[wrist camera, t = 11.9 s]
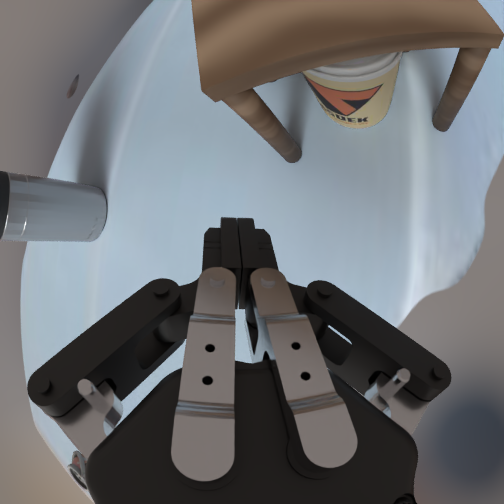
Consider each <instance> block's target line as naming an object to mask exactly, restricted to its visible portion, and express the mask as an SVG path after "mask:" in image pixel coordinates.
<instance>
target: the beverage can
mask: <svg viewBox="0 0 504 504" xmlns="http://www.w3.org/2000/svg"><path fill="white" fill-rule="evenodd" d="M86 462H87V459H86V458H85V457H84V456H83V454H81V453H80V452H79V451H74V452H73V455H72V464H70V465H68V470H69V472H70V474H71V476H72V477H73V479H74V481H75V482H76V483H78V485H79V486H80V487H82V488H83V489H84V490H86V491H88V492H89V490H88V488H87V485H86V481H85V466H86Z"/></svg>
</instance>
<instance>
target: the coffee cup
mask: <svg viewBox="0 0 504 504" xmlns="http://www.w3.org/2000/svg"><path fill="white" fill-rule="evenodd" d="M402 53H403V51H402V52H394V53H387V54H380V55H374V56H368V57H363V58H358V59H353V60H348V61H343V62H339V63H334V64H330V65H326V66H322V67H318V68H314V69H310V70H307V71H303V72H302V74H303V75H304V77H305V79H306V81H307V82H308V84H309V86H310V87H311V89H312V91H313V92H314V94H315V96H316V98H317V99H318V101H319V103H320V105H321V106H322V108H323V110H324V111H325V113H326V114H327V115H328V116H329V117H330V118H331V119H332V120H333V121H335V122H336V123H338V124H340V125H342V126H344V127H348V128H353V129H364V128H368V127H372V126H374V125H376V124H377V123H379V122H380V121H381V120H382V119H383V118H384V117H385V116H386V114H387V112H388V109H389V106H390V103H391V99H392V95H393V91H394V87H395V82H396V78H397V73H398V68H399V62H400V58H401V56H402Z"/></svg>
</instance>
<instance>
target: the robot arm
mask: <svg viewBox="0 0 504 504" xmlns="http://www.w3.org/2000/svg"><path fill="white" fill-rule="evenodd" d="M106 213H107V206H106V199H105V196H104V194H103V192H102V190H101V189H100V188H98V187H94V186H89V185H85V184H80V183H74V182H68V181H63V180H57V179H51V178H43V177H37V176H30V175H23V174H17V173H10V172H3V171H0V241H75V242H91V241H94V240H95V239H97V238H98V236H99V235H100V233H101V232H102V230H103V227H104V224H105V220H106ZM238 304H239V309H245V314H246V316H245V329H246V334H247V339H248V344H249V349H250V354H251V359H252V363H245V362H240V361H235V309H237V308H238ZM329 325H330V326H331V327H333V328H334V329H336V330H337V331H338V332H340V333H341V334H342V335H344V336H345V337H346V338H348V339H349V340H350V341H351V343H352V344H350V343H349V342H347V341H346V340H345V339H343V338H342V337H341V336H339V335H338V334H337V333H335V332H334V331H333V330H331V329H330V328H329V327H328V326H329ZM185 339H187V340H186V347H185V354H184V361H183V368H180V369H178V370H176V371H174V372H172V373H170V374H169V375H167V376H166V377H165V378H164V379H162V380H161V381H160V382H159V383H158V385H157V386H156V387H155V388H154V389H153V390H152V391H151V392H150V393H149V394H148V395H147V396H146V397H145V398H144V399H143V400H142V401H141V402H140V403H139V404H138V405H137V406H136V407H135V408H134V409H133V411H132V412H131V413H130V414H129V415H128V416H127V417H126V418H125V419H124V420H123V421H122V422H121V423H120V424H119V425H118V426H117V427H116V428H115V426H116V425H117V423H118V422H119V421H120V419H121V417H122V414H123V406H122V403H121V401H122V400H123V399H125V398H126V397H127V396H128V395H129V394H130V393H131V392H132V391H133V390H134V389H135V388H136V387H137V386H139V385H140V384H141V383H142V382H143V381H144V380H145V379H146V378H147V377H148V376H149V375H150V374H151V373H152V372H153V371H155V370H156V369H157V368H158V367H159V366H160V365H161V364H162V363H163V362H164V361H165V360H166V359H167V358H168V357H169V356H170V355H171V354H172V353H174V352H175V351H176V350H177V349H178V348H179V347H180V346H181V345H182V344H183V342H184V341H185ZM327 368H328V369H327ZM329 369H330V370H329ZM342 379H343V380H342ZM450 382H451V373H450V370H449V368H448V367H447V365H446V364H445V363H444V362H443V361H441V360H440V359H439V358H437V357H436V356H435V355H433V354H432V353H430V352H429V351H428V350H426V349H425V348H423V347H422V346H421V345H419V344H418V343H416V342H415V341H414V340H412V339H411V338H409V337H408V336H407V335H405V334H404V333H402V332H401V331H399V330H398V329H397V328H395V327H394V326H392V325H391V324H390V323H388V322H387V321H385V320H384V319H382V318H381V317H380V316H378V315H377V314H375V313H374V312H372V311H371V310H370V309H368V308H367V307H365V306H364V305H362V304H361V303H359V302H358V301H357V300H355V299H354V298H352V297H351V296H349V295H348V294H346V293H345V292H344V291H342V290H341V289H339V288H338V287H336V286H335V285H333V284H332V283H330V282H327V281H322V280H317V281H313V282H311V283H310V284H309V285H308V286H307V288H306V287H302V286H298V285H294V284H291V283H289V282H287V281H286V278H285V276H284V275H283V274H282V273H281V272H279V270H278V266H277V262H276V258H275V254H274V250H273V246H272V242H271V238H270V235H269V234H268V233H267V232H266V231H265V230H264V229H255V225H254V220H253V218H226V217H221V224H220V228H209V229H208V230H207V231H206V233H205V234H204V247H203V264H202V273H201V274H200V277H199V278H198V279H197V280H196V281H194V282H192V283H190V284H187V285H182V286H178V284H177V283H176V282H174V281H173V280H170V279H165V278H161V279H156V280H153V281H151V282H149V283H148V284H146V285H145V286H144V287H142V288H141V289H140V290H138V291H137V292H136V293H134V294H133V295H132V296H130V297H129V298H128V299H126V300H125V301H124V302H122V303H121V304H120V305H118V306H117V307H116V308H114V309H113V310H112V311H110V312H109V313H108V314H107V315H105V316H104V317H103V318H101V319H100V320H99V321H97V322H96V323H95V324H94V325H92V326H91V327H90V328H88V329H87V330H86V331H85V332H83V333H82V334H81V335H80V336H78V337H77V338H76V339H74V340H73V341H72V342H71V343H69V344H68V345H67V346H66V347H64V348H63V349H62V350H61V351H59V352H58V353H57V354H56V355H55V356H53V357H52V358H51V359H50V360H48V361H47V362H46V363H45V364H44V365H42V366H41V367H40V368H39V369H37V370H36V371H35V372H34V373H33V374H32V375H31V377H30V379H29V381H28V386H27V390H28V395H29V397H30V399H31V400H32V401H33V402H34V403H35V404H36V405H37V406H38V407H40V408H41V409H42V410H43V412H44V413H45V414H46V415H48V416H49V417H50V418H51V419H53V420H54V421H55V422H56V423H57V424H58V425H59V427H60V428H61V429H62V430H63V432H64V433H65V434H66V435H67V437H68V438H69V439H70V440H71V442H72V443H73V444H74V445H75V446H76V448H77V449H78V450H79V451H80V452H81V453H82V454H83V456H84V457H85V458H86V459H87V462H86V466H85V481H86V485H87V488H88V490H89V493H90V495H91V497H92V498H93V500H94V502H95V504H417V503H416V501H415V498H414V478H415V472H416V468H417V463H418V450H417V446H416V443H415V441H414V439H413V438H412V436H411V435H412V434H413V432H414V430H415V429H416V427H417V425H418V423H419V421H420V420H421V418H422V416H423V414H424V412H425V410H426V408H427V406H428V404H429V402H431V401H432V400H433V399H434V398H435V397H437V396H438V395H439V394H440V393H441V392H442V391H444V390H445V389H446V388H447V387H448V386H449V384H450ZM347 383H348V384H347ZM351 386H352V387H353V388H355V389H356V390H357V391H358V392H360V393H361V394H362V395H364V396H365V397H363V396H362V395H361V394H360V393H358V392H357V391H356V390H355V389H353V388H352V387H351Z"/></svg>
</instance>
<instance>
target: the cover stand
mask: <svg viewBox="0 0 504 504" xmlns="http://www.w3.org/2000/svg"><path fill="white" fill-rule="evenodd" d="M191 2H192V12H193V22H194V31H195V40H196V49H197V58H198V66H199V74H200V82H201V90H202V92H203V93H205V94H206V95H207V96H208V97H210V98H211V99H212V100H213V101H214V102H218V101H220V100H222V101H223V102H225V103H226V104H227V105H228V106H229V107H230V108H231V109H232V110H234V111H235V112H236V113H237V114H238V115H239V116H240V117H241V118H242V119H243V120H245V121H246V122H247V123H248V124H249V125H250V126H251V127H252V128H253V129H254V130H255V131H256V132H257V133H258V134H260V135H261V136H262V137H263V138H264V139H265V140H266V141H267V142H268V143H269V144H270V145H271V146H272V147H273V148H274V149H275V150H276V151H277V152H278V153H279V154H280V155H281V156H282V157H283V158H284V159H285V160H286V161H287V162H289V163H295V162H297V161H298V160H299V159H300V158H301V155H302V152H301V149H300V148H299V147H298V145H297V144H296V143H295V141H294V140H293V138H292V137H291V136H290V134H289V133H288V132H287V131H286V129H285V128H284V127H283V125H282V124H281V123H280V121H279V120H278V119H277V118H276V116H275V115H274V114H273V113H272V111H271V110H270V109H269V107H268V106H267V105H266V104H265V103H264V101H263V100H262V99H261V98H260V96H259V95H258V94H257V93H256V92H255V90H254V89H253V87H256V86H259V85H262V84H265V83H268V82H274V81H276V80H277V79H280V78H283V77H286V76H290V75H293V74H296V73H300V72H303V71H307V70H310V69H314V68H318V67H322V66H326V65H330V64H334V63H339V62H343V61H348V60H353V59H358V58H363V57H368V56H374V55H380V54H387V53H394V52H402V51H403V52H409V51H411V50H421V49H435V48H460V49H459V52H458V55H457V58H456V61H455V64H454V67H453V69H452V72H451V75H450V78H449V80H448V83H447V85H446V88H445V91H444V93H443V96H442V98H441V100H440V103H439V105H438V108H437V110H436V112H435V115H434V117H433V120H432V122H433V125H434V127H435V128H436V129H437V130H439V131H442V132H444V131H447V130H448V129H449V127H450V125H451V124H452V122H453V120H454V118H455V117H456V115H457V113H458V112H459V110H460V108H461V106H462V105H463V103H464V101H465V99H466V97H467V96H468V94H469V92H470V90H471V88H472V86H473V84H474V82H475V81H476V79H477V77H478V75H479V73H480V71H481V69H482V67H483V65H484V63H485V61H486V58H487V56H488V54H489V52H490V50H491V48H497V49H498V48H499V46H500V44H501V41H502V39H503V37H504V33H503V32H502V31H501V29H500V28H499V26H498V25H497V24H496V23H495V21H494V20H493V19H492V17H491V16H490V15H489V14H488V12H487V11H486V10H485V9H484V8H483V6H482V5H481V4H480V3H479V2H478V1H477V0H191Z"/></svg>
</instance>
